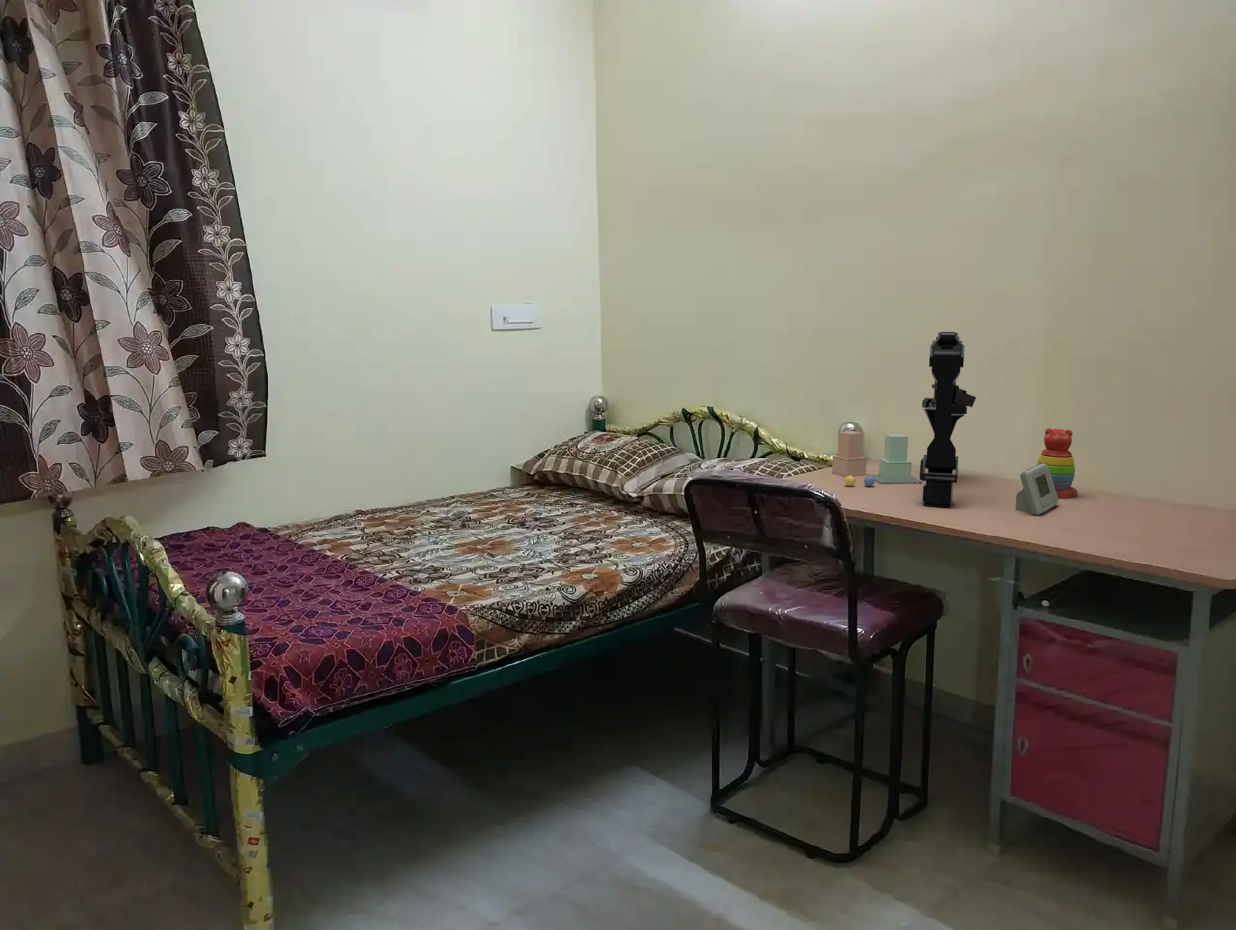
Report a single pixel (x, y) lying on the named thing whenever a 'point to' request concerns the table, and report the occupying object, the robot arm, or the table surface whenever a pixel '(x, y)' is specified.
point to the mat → (883, 481)
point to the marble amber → (850, 480)
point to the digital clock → (1036, 490)
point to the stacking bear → (1059, 461)
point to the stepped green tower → (895, 458)
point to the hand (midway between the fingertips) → (942, 436)
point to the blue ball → (869, 481)
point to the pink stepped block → (849, 455)
